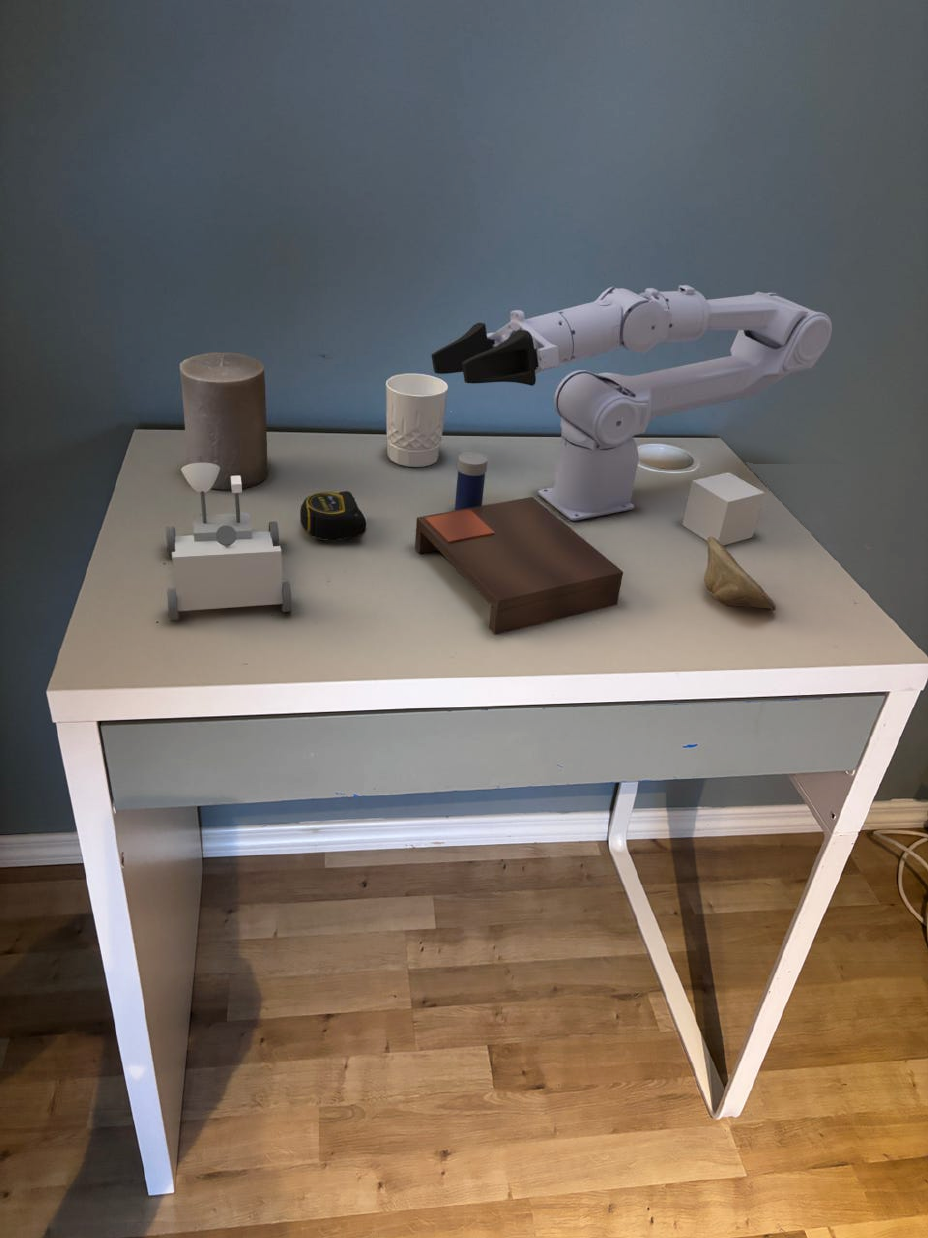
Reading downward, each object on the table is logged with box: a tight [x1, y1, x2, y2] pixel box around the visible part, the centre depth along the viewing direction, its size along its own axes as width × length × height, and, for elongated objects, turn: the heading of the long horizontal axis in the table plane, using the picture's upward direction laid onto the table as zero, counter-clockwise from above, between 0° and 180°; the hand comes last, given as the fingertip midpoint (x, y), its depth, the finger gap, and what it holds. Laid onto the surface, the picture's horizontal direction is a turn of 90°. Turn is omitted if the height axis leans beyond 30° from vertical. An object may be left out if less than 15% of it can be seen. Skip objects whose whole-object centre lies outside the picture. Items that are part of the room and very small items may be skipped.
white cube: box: [682, 471, 765, 546], centre depth 118 cm, size 6×6×6 cm
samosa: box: [703, 536, 777, 611], centre depth 105 cm, size 9×4×10 cm
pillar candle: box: [179, 352, 269, 491], centre depth 118 cm, size 10×10×15 cm
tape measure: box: [299, 490, 367, 542], centre depth 111 cm, size 7×7×4 cm
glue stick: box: [454, 451, 488, 511], centre depth 116 cm, size 3×3×8 cm
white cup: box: [385, 373, 449, 468], centre depth 127 cm, size 8×8×10 cm
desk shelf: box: [414, 496, 624, 635], centre depth 106 cm, size 15×18×4 cm
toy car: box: [165, 456, 293, 621], centre depth 100 cm, size 18×10×12 cm
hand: (448, 368), depth 104 cm, fingers open, 7 cm apart
